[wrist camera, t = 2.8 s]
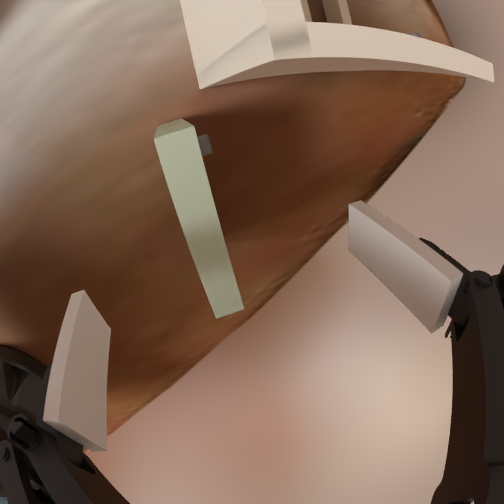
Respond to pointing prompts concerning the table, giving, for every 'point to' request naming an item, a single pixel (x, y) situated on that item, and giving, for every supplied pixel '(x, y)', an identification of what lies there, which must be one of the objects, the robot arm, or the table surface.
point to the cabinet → (306, 43)
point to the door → (198, 211)
